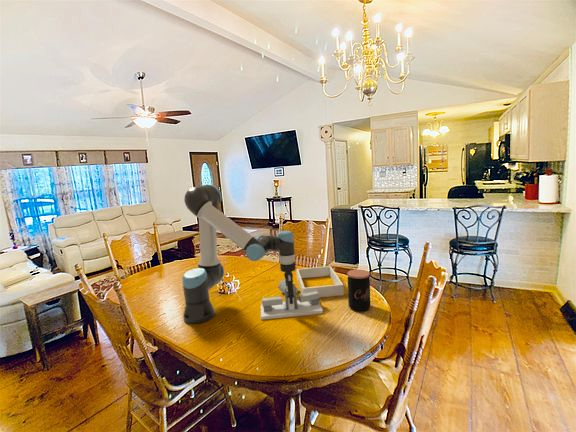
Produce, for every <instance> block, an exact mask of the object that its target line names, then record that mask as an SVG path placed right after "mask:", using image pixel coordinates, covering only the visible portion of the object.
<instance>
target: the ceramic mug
mask: <svg viewBox="0 0 576 432" xmlns="http://www.w3.org/2000/svg"><path fill="white" fill-rule="evenodd" d="M278 289H279V291H280V292H282V293H283V294H285V292H286V283H285V278H283V279H281V280H280V282H279V284H278ZM293 291H296V293H298V292H299V291H300V288H298V287H297V286H296V285H295V284H294V283H293Z"/></svg>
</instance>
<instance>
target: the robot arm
mask: <svg viewBox="0 0 576 432" xmlns="http://www.w3.org/2000/svg"><path fill="white" fill-rule="evenodd" d="M222 197H223V194H222V192H221V190H220V189H219V188H218V187H217V186H216V185H212V184H203V185H200V186H192V187H191V188H189V189H188V190H187V191H186V192H185V195H184V197H183V199H184V204H185V207H186V208H187V210H188V211H190V213H192V214H193V216H195V217H197V218H198V232H199V248H200V249H199V250H200V253H199V254H200V260H198V262H197V267H196V268H192V269H190V270H187V271H186V272H184V273H183V275H182V283H181V284H182V289H183V295H184V303H185V305H184V310H183V316H182V317H183V321H184V322H185V323H186V324H191V325H196V324H201V323H204V322H205V323H206V322H207V321H210V320H211V319H212V318H214V316H215V313H216V312H215V308H214V305H213V304H212V302H211V300H210V290H211V289H212V288H214V287H216V285H218V284H219V283H220V282H221V281H222V280H223V278H224V276H225V268H224V266H223V265H222V263H221V260H220V259H219V258H218V245H217V244H218V241H217V231H218V232H220V233H221V234H222V235H224V236H225V237H226V238H228V239H229V240H230V241H232V243H234V244H235V245H236V246H238V248H239V247H240V248H241V249H242V250H243V251H244V252H245V255H246V258H247V259H248V260H249V261H251V262H257V261H259V260H261V259H262V258H264V256H265V255H267V254H268V253H269V252H278V253H279V257H278V258H279V263H280V264H279V266H280V267H279V269H280V271H281V272H282V273H284V274H283V275H284V279H285V283H286V292H288V296H287V298H288V304H289V310H293V309H295V308H294V293H293V284H294V280H293V279H294V275H293V272H294V271H296V270H297V268H296V257H297V255H296V254H295V239H294V233H293V232H292V231H291V230H281V231H278V232H277V235H266V234H265V235H264V234H263V235H257V236H255V237H254V236H253V235H251V234H250V233H249V232H248V231H246V230H245V229H244V228H243V227H241V226H240V225H238V224H237V223H236V222H235V221H234V220H232V219H231V218H229V217H228V216H227V215H226V214H224V213H223V212H222V211H221V210H219V205H220V204H221V202H222V200H223V198H222Z"/></svg>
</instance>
